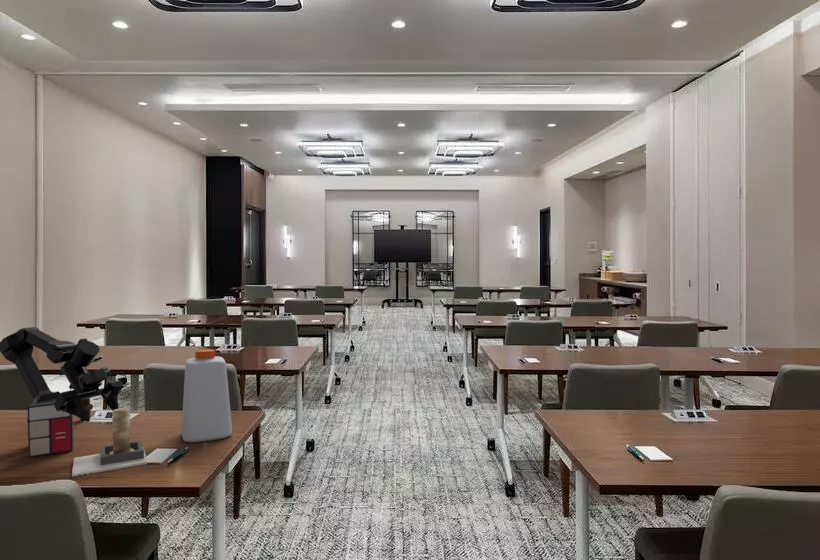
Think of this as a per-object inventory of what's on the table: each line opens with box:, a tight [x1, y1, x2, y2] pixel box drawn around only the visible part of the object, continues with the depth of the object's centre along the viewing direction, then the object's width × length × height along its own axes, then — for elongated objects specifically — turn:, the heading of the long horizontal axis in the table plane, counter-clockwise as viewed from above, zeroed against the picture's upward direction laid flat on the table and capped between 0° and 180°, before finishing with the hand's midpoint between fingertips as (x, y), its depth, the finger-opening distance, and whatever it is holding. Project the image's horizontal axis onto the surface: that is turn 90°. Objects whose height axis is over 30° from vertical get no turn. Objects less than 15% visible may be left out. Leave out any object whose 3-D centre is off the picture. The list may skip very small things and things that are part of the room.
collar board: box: [71, 440, 148, 478], centre depth 153 cm, size 18×15×3 cm
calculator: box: [26, 401, 74, 458], centre depth 161 cm, size 11×4×15 cm, turn 117°
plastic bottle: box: [181, 348, 233, 444], centre depth 177 cm, size 15×15×28 cm
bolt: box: [79, 398, 94, 421], centre depth 197 cm, size 6×5×15 cm
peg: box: [109, 407, 134, 455], centre depth 156 cm, size 6×6×13 cm
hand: (103, 416), depth 159 cm, fingers open, 9 cm apart
